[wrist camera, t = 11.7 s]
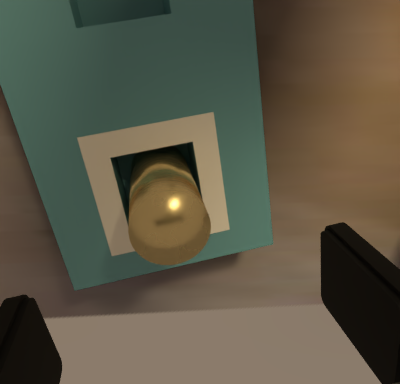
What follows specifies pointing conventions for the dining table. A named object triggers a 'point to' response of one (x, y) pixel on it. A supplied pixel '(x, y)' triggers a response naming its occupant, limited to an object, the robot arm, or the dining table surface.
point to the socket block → (136, 118)
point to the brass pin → (165, 208)
